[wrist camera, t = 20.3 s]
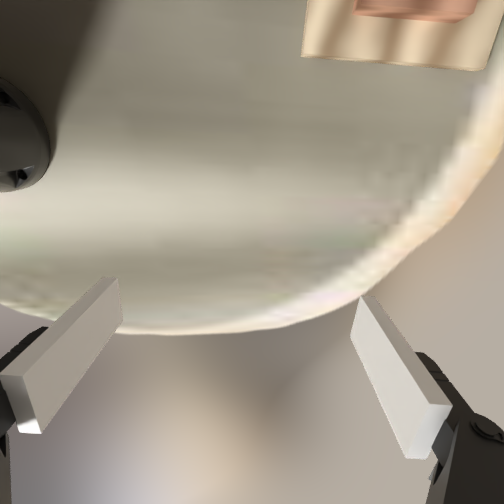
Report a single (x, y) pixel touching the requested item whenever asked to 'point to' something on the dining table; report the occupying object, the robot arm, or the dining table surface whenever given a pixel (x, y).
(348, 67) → the dining table surface
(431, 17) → the holder
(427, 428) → the robot arm
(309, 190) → the dining table surface
